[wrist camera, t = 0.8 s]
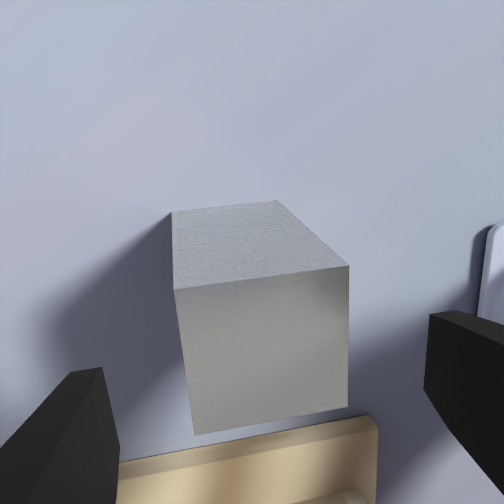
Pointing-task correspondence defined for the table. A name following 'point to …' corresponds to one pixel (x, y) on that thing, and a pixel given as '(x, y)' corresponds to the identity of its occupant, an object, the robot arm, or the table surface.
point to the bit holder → (263, 469)
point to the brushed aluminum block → (258, 316)
